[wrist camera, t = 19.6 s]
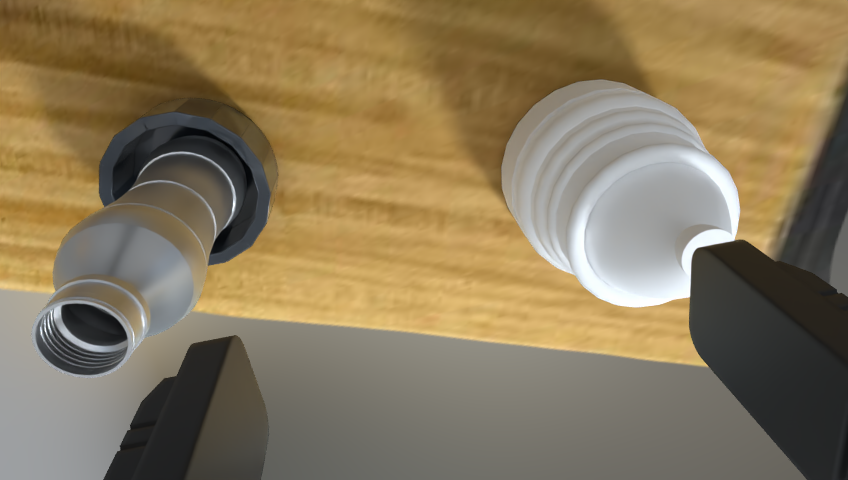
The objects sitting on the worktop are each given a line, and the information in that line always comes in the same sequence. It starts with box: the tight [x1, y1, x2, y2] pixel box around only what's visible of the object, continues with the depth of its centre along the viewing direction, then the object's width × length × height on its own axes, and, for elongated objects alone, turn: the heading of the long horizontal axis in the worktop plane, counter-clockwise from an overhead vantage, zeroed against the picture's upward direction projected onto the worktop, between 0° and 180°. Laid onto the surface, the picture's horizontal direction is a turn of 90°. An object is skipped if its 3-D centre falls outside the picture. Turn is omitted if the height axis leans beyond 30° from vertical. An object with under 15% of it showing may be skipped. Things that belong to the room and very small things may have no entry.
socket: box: [99, 98, 278, 266], centre depth 39 cm, size 10×10×4 cm
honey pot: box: [501, 79, 740, 307], centre depth 36 cm, size 13×13×18 cm
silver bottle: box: [31, 135, 247, 378], centre depth 32 cm, size 6×7×20 cm
